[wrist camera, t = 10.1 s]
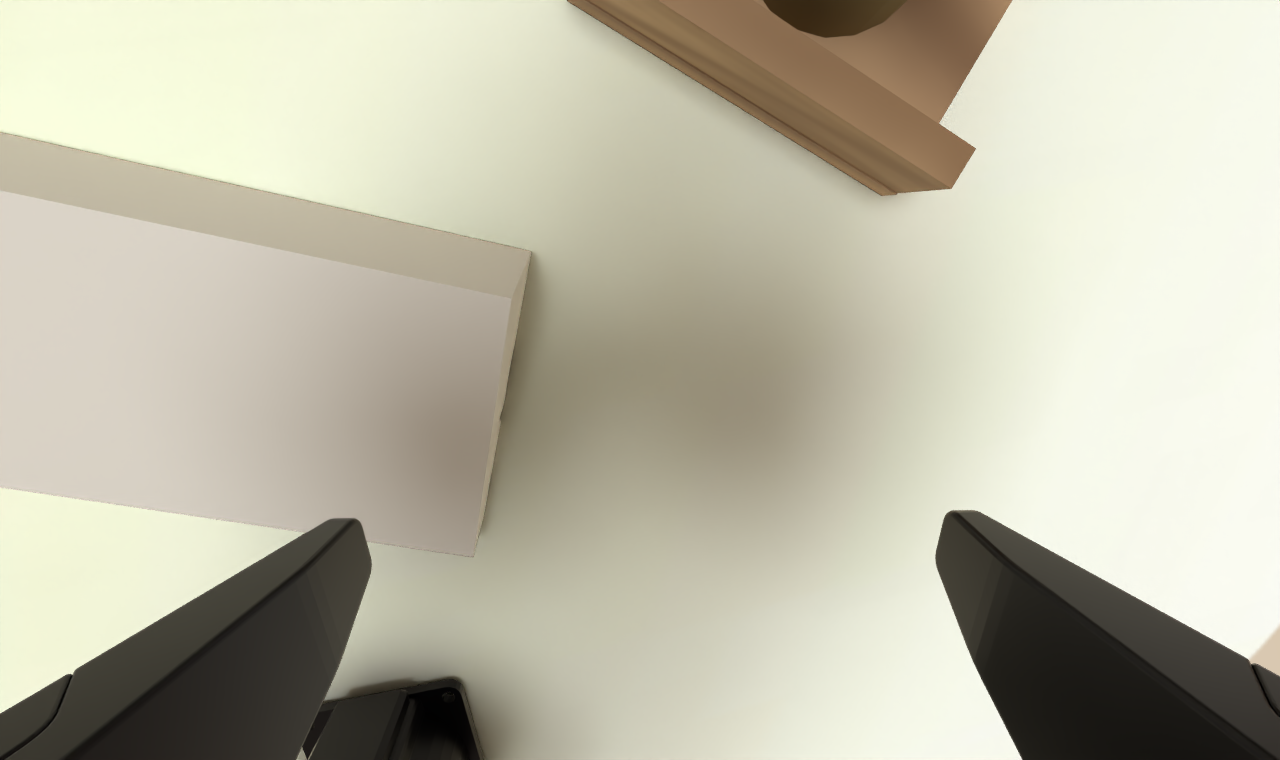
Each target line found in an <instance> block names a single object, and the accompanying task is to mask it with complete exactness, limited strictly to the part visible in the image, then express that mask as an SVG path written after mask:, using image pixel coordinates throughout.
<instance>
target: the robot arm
mask: <svg viewBox="0 0 1280 760" xmlns="http://www.w3.org/2000/svg"><path fill="white" fill-rule="evenodd" d="M936 566H937V569H938V572H939V575H940V577H941V580H942V583H943V585H944V588H945V590H946V593H947V596H948V598H949V601H950V604H951V606H952V609H953V611H954V614H955V617H956V619H957V622H958V624H959V627H960V630H961V632H962V635H963V638H964V640H965V643H966V645H967V648H968V650H969V653H970V655H971V658H972V660H973V662H974V664H975V666H976V669H977V671H978V673H979V675H980V677H981V679H982V681H983V683H984V685H985V687H986V689H987V691H988V693H989V695H990V697H991V699H992V701H993V703H994V705H995V707H996V709H997V711H998V713H999V714H1000V716H1001V718H1002V720H1003V722H1004V724H1005V726H1006V728H1007V730H1008V732H1009V734H1010V736H1011V738H1012V740H1013V742H1014V744H1015V746H1016V748H1017V750H1018V752H1019V754H1020V756H1021V758H1022V760H1280V676H1278V675H1276V674H1275V673H1273V672H1271V671H1269V670H1267V669H1266V668H1264V667H1262V666H1260V665H1258V664H1255V663H1254V664H1251V663H1250V661H1249V660H1248V659H1247V658H1245V657H1243V656H1242V655H1240V654H1238V653H1236V652H1234V651H1233V650H1231V649H1229V648H1227V647H1225V646H1223V645H1222V644H1220V643H1218V642H1216V641H1214V640H1212V639H1211V638H1209V637H1207V636H1205V635H1203V634H1201V633H1200V632H1198V631H1196V630H1194V629H1192V628H1191V627H1189V626H1187V625H1185V624H1183V623H1181V622H1180V621H1178V620H1176V619H1174V618H1172V617H1170V616H1169V615H1167V614H1165V613H1163V612H1161V611H1159V610H1158V609H1156V608H1154V607H1152V606H1150V605H1149V604H1147V603H1145V602H1143V601H1141V600H1139V599H1138V598H1136V597H1134V596H1132V595H1130V594H1128V593H1127V592H1125V591H1123V590H1121V589H1119V588H1117V587H1116V586H1114V585H1112V584H1110V583H1108V582H1107V581H1105V580H1103V579H1101V578H1099V577H1097V576H1096V575H1094V574H1092V573H1090V572H1088V571H1086V570H1085V569H1083V568H1081V567H1079V566H1077V565H1075V564H1074V563H1072V562H1070V561H1068V560H1066V559H1065V558H1063V557H1061V556H1059V555H1057V554H1055V553H1054V552H1052V551H1050V550H1048V549H1046V548H1044V547H1043V546H1041V545H1039V544H1037V543H1035V542H1033V541H1032V540H1030V539H1028V538H1026V537H1024V536H1023V535H1021V534H1019V533H1017V532H1015V531H1013V530H1012V529H1010V528H1008V527H1006V526H1004V525H1002V524H1001V523H999V522H997V521H995V520H993V519H991V518H990V517H988V516H986V515H984V514H982V513H981V512H978V511H975V510H953V511H950V512H948V513H947V514H946V515H945V517H944V520H943V524H942V528H941V532H940V537H939V541H938V545H937V549H936ZM371 567H372V563H371V556H370V552H369V549H368V545H367V541H366V538H365V534H364V530H363V527H362V524H361V522H360V521H359V520H358V519H356V518H332V519H329V520H327V521H325V522H323V523H322V524H320V525H318V526H317V527H315V528H313V529H312V530H310V531H308V532H307V533H305V534H303V535H301V536H300V537H298V538H296V539H295V540H293V541H291V542H290V543H288V544H286V545H285V546H283V547H281V548H280V549H278V550H276V551H274V552H273V553H271V554H269V555H268V556H266V557H264V558H263V559H261V560H259V561H258V562H256V563H254V564H253V565H251V566H249V567H247V568H246V569H244V570H242V571H241V572H239V573H237V574H236V575H234V576H232V577H231V578H229V579H227V580H226V581H224V582H222V583H221V584H219V585H217V586H215V587H214V588H212V589H210V590H209V591H207V592H205V593H204V594H202V595H200V596H199V597H197V598H195V599H194V600H192V601H190V602H188V603H187V604H185V605H183V606H182V607H180V608H178V609H177V610H175V611H173V612H172V613H170V614H168V615H167V616H165V617H163V618H161V619H160V620H158V621H156V622H155V623H153V624H151V625H150V626H148V627H146V628H145V629H143V630H141V631H140V632H138V633H136V634H134V635H133V636H131V637H129V638H128V639H126V640H124V641H123V642H121V643H119V644H118V645H116V646H114V647H113V648H111V649H109V650H108V651H106V652H104V653H102V654H101V655H99V656H97V657H96V658H94V659H92V660H91V661H89V662H87V663H86V664H84V665H82V666H81V667H79V668H77V669H76V670H75V671H74V673H73V675H72V674H67V675H65V676H63V677H62V678H60V679H58V680H57V681H55V682H53V683H52V684H50V685H48V686H47V687H45V688H43V689H42V690H40V691H38V692H37V693H35V694H33V695H32V696H30V697H28V698H26V699H25V700H23V701H21V702H19V703H18V704H16V705H14V706H12V707H11V708H9V709H7V710H6V711H4V712H2V713H0V760H296V759H297V757H298V754H299V752H300V750H301V748H303V750H304V753H305V755H306V758H307V760H484V757H483V753H482V750H481V746H480V743H479V740H478V736H477V733H476V729H475V726H474V722H473V719H472V715H471V712H470V709H469V705H468V702H467V698H466V695H465V691H464V688H463V686H462V684H461V683H460V682H459V681H457V680H453V679H449V680H443V681H438V682H433V683H428V684H423V685H418V686H412V687H407V688H402V689H397V690H392V691H387V692H382V693H377V694H372V695H367V696H362V697H357V698H351V699H346V700H341V701H336V702H331V703H326V704H322V703H323V700H324V698H325V696H326V694H327V692H328V690H329V687H330V685H331V683H332V681H333V678H334V676H335V674H336V672H337V669H338V667H339V664H340V661H341V659H342V656H343V653H344V651H345V648H346V645H347V642H348V639H349V636H350V633H351V630H352V627H353V624H354V621H355V618H356V615H357V613H358V610H359V607H360V604H361V601H362V598H363V595H364V592H365V589H366V586H367V583H368V580H369V577H370V574H371ZM446 692H451V693H453V695H448V694H446Z"/></svg>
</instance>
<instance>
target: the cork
mask: <svg viewBox="0 0 1280 760" xmlns="http://www.w3.org/2000/svg"><path fill="white" fill-rule="evenodd" d="M763 1H764V3H765V4H766V5H767V7H768V8H769V10H770V11H771V12H773V13H774V14H775V15H777V16H778V17H779V18H781V19H782V20H784V21H785V22H787V23H788V24H790V25H791V26H793V27H794V28H796V29H797V30H799V31H803V32H806V33H810V34H813V35H817V36H820V37H824V38H828V37H840V36H852V35H857V34H859V33H861V32H863V31H865V30H868V29H870V28H872V27H874V26H876V25H879V24H881V23H883V22H884V21H886V20H887V19H888V18H889V17H890V16H891V15H892V14H893V13H894V12H895V11H896V10H898V9H899V8H900V7H901V6H902V5H903V4H904V3H905V2H906V1H907V0H763Z"/></svg>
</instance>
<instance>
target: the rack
mask: <svg viewBox="0 0 1280 760" xmlns="http://www.w3.org/2000/svg"><path fill="white" fill-rule="evenodd" d="M567 1H568V2H570V3H572V4H573V5H575V6H576V7H578V8H580V9H581V10H583V11H585V12H586V13H588V14H589V15H591V16H593V17H594V18H596V19H597V20H599V21H601V22H602V23H604V24H605V25H607V26H609V27H610V28H612V29H614V30H615V31H617V32H618V33H620V34H622V35H623V36H625V37H626V38H628V39H630V40H631V41H633V42H635V43H636V44H638V45H639V46H641V47H643V48H644V49H646V50H647V51H649V52H651V53H652V54H654V55H655V56H657V57H659V58H660V59H662V60H664V61H665V62H667V63H668V64H670V65H672V66H673V67H675V68H676V69H678V70H680V71H681V72H683V73H685V74H686V75H688V76H689V77H691V78H693V79H694V80H696V81H697V82H699V83H701V84H702V85H704V86H705V87H707V88H709V89H710V90H712V91H714V92H715V93H717V94H718V95H720V96H722V97H723V98H725V99H726V100H728V101H730V102H731V103H733V104H735V105H736V106H738V107H739V108H741V109H743V110H744V111H746V112H747V113H749V114H751V115H752V116H754V117H755V118H757V119H759V120H760V121H762V122H764V123H765V124H767V125H768V126H770V127H772V128H773V129H775V130H776V131H778V132H780V133H781V134H783V135H785V136H786V137H788V138H789V139H791V140H793V141H794V142H796V143H797V144H799V145H801V146H802V147H804V148H805V149H807V150H809V151H810V152H812V153H814V154H815V155H817V156H818V157H820V158H822V159H823V160H825V161H826V162H828V163H830V164H831V165H833V166H835V167H836V168H838V169H839V170H841V171H843V172H844V173H846V174H847V175H849V176H851V177H852V178H854V179H856V180H857V181H859V182H860V183H862V184H864V185H865V186H867V187H868V188H870V189H872V190H873V191H875V192H876V193H878V194H880V195H881V196H885V195H896V194H897V193H906V192H918V191H930V190H942V189H952V187H953V185H954V184H955V182H956V180H957V179H958V177H959V175H960V174H961V172H962V171H963V169H964V167H965V166H966V164H967V162H968V161H969V159H970V158H971V156H972V154H973V153H974V151H975V149H976V148H974V147H973V146H971V145H970V144H968V143H967V142H965V141H964V140H962V139H961V138H959V137H958V136H956V135H955V134H953V133H952V132H950V131H949V130H947V129H946V128H944V127H943V126H941V125H940V124H939V122H940V121H941V119H942V117H943V116H944V114H945V112H946V111H947V109H948V107H949V106H950V104H951V102H952V100H953V99H954V97H955V95H956V94H957V92H958V90H959V89H960V87H961V85H962V84H963V82H964V80H965V79H966V77H967V75H968V74H969V72H970V70H971V69H972V67H973V65H974V64H975V62H976V60H977V59H978V57H979V55H980V53H981V52H982V50H983V48H984V47H985V45H986V43H987V42H988V40H989V38H990V37H991V35H992V33H993V32H994V30H995V28H996V27H997V25H998V23H999V22H1000V20H1001V18H1002V17H1003V15H1004V13H1005V12H1006V10H1007V8H1008V6H1009V5H1010V3H1011V1H1012V0H907V1H906V2H905V3H904V4H903V5H902V6H901V7H900V8H899V9H898V10H896V11H895V12H894V13H893V14H892V15H891V16H890V17H889V18H888V19H887V20H886V21H884V22H883V23H881V24H879V25H876V26H874V27H872V28H870V29H868V30H865V31H863V32H861V33H859V34H857V35H852V36H840V37H828V38H824V37H820V36H817V35H813V34H810V33H806V32H803V31H799V30H797V29H796V28H794V27H793V26H791V25H790V24H788V23H787V22H785V21H784V20H782V19H781V18H779V17H778V16H777V15H775V14H774V13H773V12H771V11H770V10H769V8H768V7H767V5H766V4H765V3H764V1H763V0H567Z"/></svg>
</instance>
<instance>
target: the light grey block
mask: <svg viewBox="0 0 1280 760" xmlns="http://www.w3.org/2000/svg"><path fill="white" fill-rule="evenodd" d="M531 253H532V252H531V251H528V250H524V249H519V248H515V247H510V246H506V245H501V244H497V243H492V242H488V241H484V240H479V239H475V238H470V237H466V236H461V235H457V234H452V233H448V232H443V231H439V230H434V229H430V228H426V227H421V226H417V225H412V224H408V223H403V222H399V221H394V220H390V219H385V218H381V217H376V216H372V215H368V214H363V213H359V212H354V211H350V210H345V209H341V208H336V207H332V206H327V205H323V204H318V203H314V202H309V201H305V200H300V199H296V198H291V197H287V196H282V195H278V194H273V193H269V192H264V191H260V190H255V189H251V188H246V187H242V186H237V185H233V184H228V183H224V182H219V181H215V180H210V179H206V178H201V177H197V176H192V175H188V174H183V173H179V172H175V171H170V170H166V169H161V168H157V167H152V166H148V165H143V164H139V163H134V162H130V161H125V160H121V159H117V158H112V157H108V156H103V155H99V154H94V153H90V152H85V151H81V150H77V149H72V148H68V147H63V146H59V145H54V144H50V143H46V142H41V141H37V140H32V139H28V138H23V137H19V136H14V135H10V134H6V133H1V132H0V487H1V488H8V489H14V490H21V491H28V492H35V493H42V494H48V495H55V496H62V497H69V498H75V499H82V500H89V501H96V502H102V503H109V504H116V505H123V506H130V507H136V508H143V509H150V510H157V511H163V512H170V513H177V514H184V515H190V516H197V517H204V518H211V519H218V520H224V521H231V522H238V523H245V524H251V525H258V526H265V527H272V528H278V529H285V530H292V531H299V532H306V533H307V532H308V531H310V530H312V529H313V528H315V527H317V526H318V525H320V524H322V523H323V522H325V521H327V520H329V519H332V518H356V519H358V520H359V521H360V522H361V524H362V527H363V530H364V534H365V538H366V541H367V542H373V543H380V544H387V545H394V546H400V547H407V548H414V549H421V550H427V551H434V552H441V553H448V554H454V555H461V556H468V557H473V556H474V552H475V548H476V545H477V541H478V537H479V533H480V529H481V525H482V521H483V518H484V513H485V508H486V502H487V497H488V490H489V484H490V478H491V474H492V469H493V463H494V458H495V452H496V447H497V441H498V436H499V430H500V425H501V420H500V416H501V412H502V409H503V405H504V402H505V396H506V389H507V382H508V376H509V371H510V366H511V361H512V355H513V350H514V345H515V340H516V336H517V330H518V324H519V319H520V313H521V308H522V302H523V297H524V291H525V286H526V280H527V275H528V269H529V264H530V258H531Z"/></svg>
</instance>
